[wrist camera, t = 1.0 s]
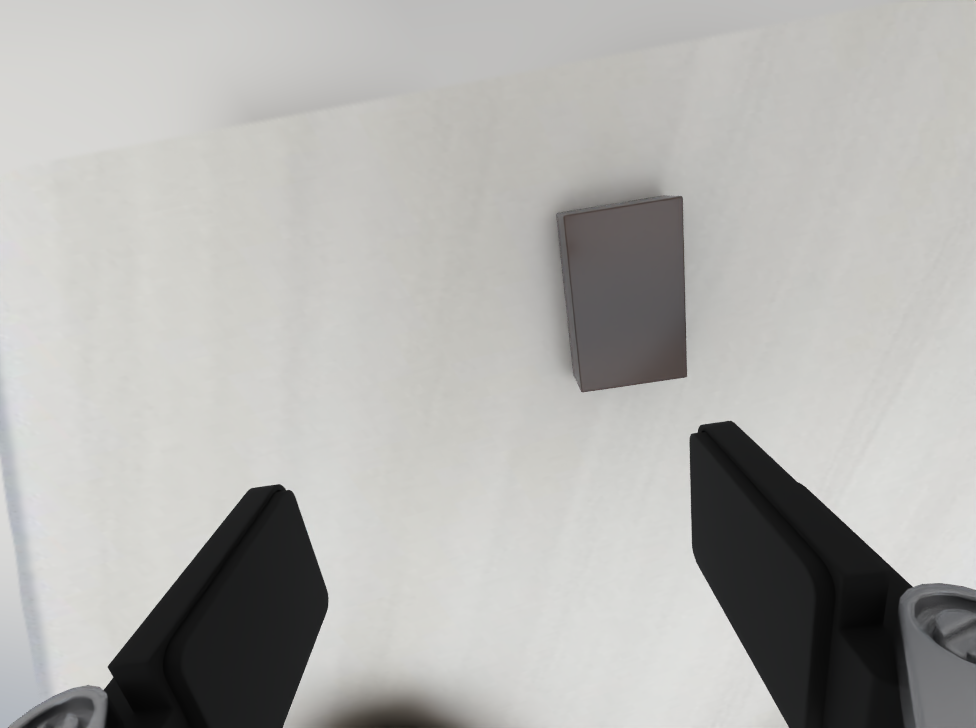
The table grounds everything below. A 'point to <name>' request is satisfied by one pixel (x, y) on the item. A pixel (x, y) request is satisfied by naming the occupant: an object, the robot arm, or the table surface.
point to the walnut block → (625, 292)
